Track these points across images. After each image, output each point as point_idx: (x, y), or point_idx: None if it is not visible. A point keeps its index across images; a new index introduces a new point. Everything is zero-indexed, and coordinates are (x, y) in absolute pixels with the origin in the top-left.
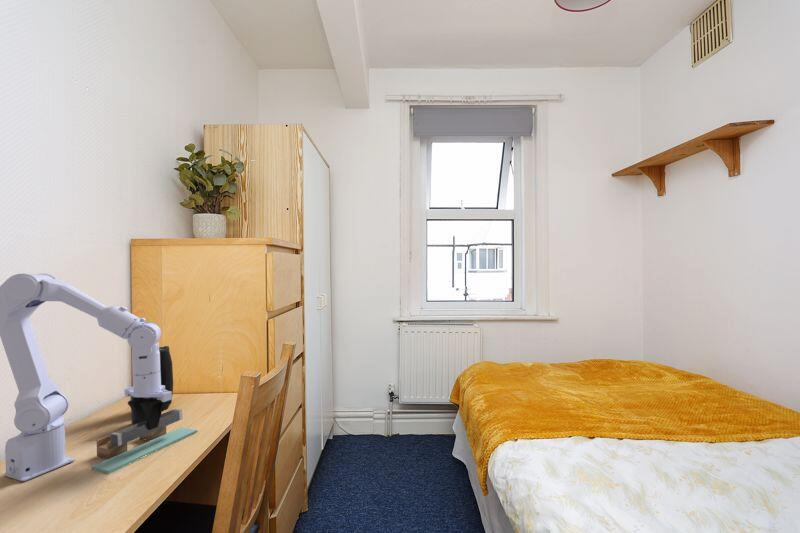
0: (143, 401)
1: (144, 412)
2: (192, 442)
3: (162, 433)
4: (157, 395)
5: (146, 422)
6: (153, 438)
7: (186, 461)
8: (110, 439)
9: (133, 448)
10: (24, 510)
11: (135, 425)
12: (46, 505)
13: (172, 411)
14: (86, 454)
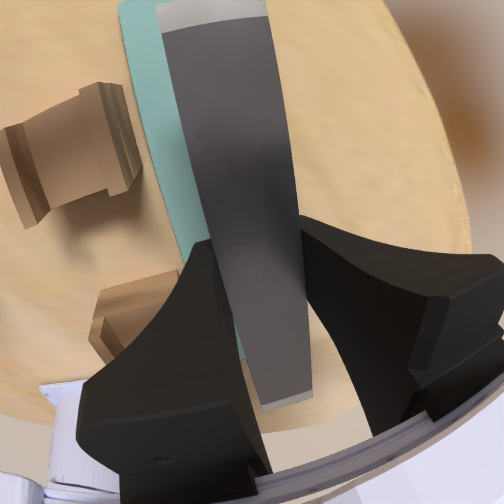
0: (255, 437)
1: (351, 374)
2: (347, 65)
3: (122, 107)
4: None
5: (313, 308)
6: (138, 158)
7: (444, 178)
8: (113, 343)
9: (186, 257)
10: (297, 419)
11: (266, 345)
12: (316, 403)
13: (220, 57)
14: (77, 348)
